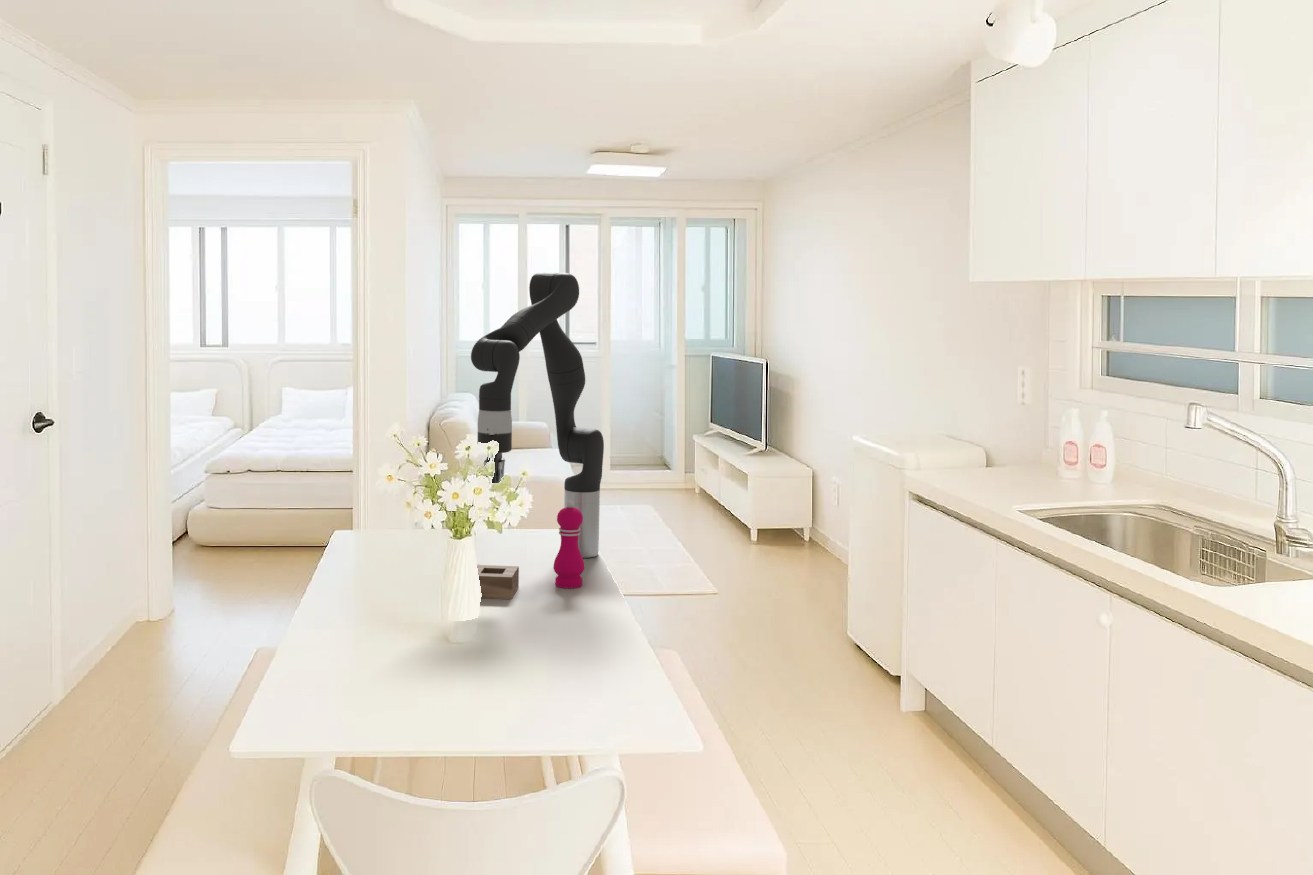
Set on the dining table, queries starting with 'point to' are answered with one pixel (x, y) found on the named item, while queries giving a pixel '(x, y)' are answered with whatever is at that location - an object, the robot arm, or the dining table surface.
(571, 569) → the pepper mill
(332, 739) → the dining table surface
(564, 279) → the robot arm
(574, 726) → the dining table surface
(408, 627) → the dining table surface
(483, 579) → the socket block
